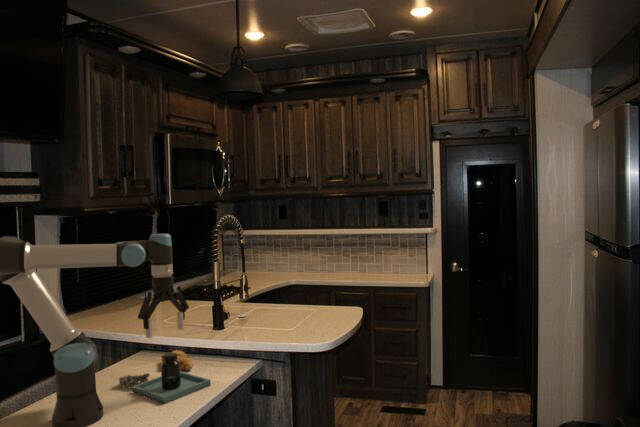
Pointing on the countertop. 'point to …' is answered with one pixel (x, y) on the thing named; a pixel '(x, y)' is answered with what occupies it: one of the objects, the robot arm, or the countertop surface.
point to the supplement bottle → (170, 372)
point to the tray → (164, 396)
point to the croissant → (182, 360)
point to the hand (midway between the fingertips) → (165, 333)
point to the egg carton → (133, 380)
